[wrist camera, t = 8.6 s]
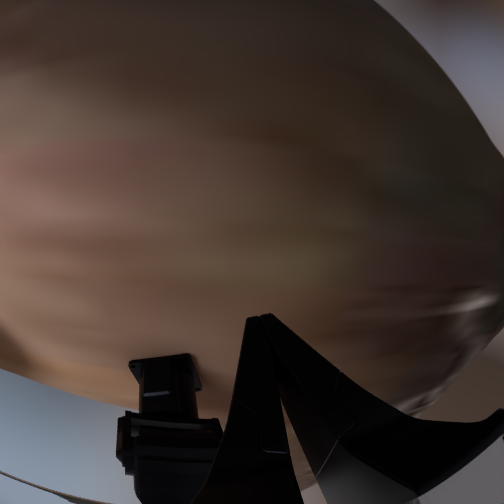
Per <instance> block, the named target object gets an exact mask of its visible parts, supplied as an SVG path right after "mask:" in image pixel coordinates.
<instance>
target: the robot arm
mask: <svg viewBox="0 0 504 504" xmlns="http://www.w3.org/2000/svg"><path fill="white" fill-rule="evenodd" d="M186 358H187V359H186ZM128 366H129V368H130V370H131V372H132V373H133V375H134V377H135V378H136V380H137V381H138V383H139V413H133V412H131V411H125V416H123V417H120V418H118V426H117V427H118V428H117V445H116V457H117V459H118V460H119V461H120V462H121V463H122V466H123V467H125V475H132V476H134V490H135V493H136V495H137V497H138V499H139V500H140V502H141V503H142V504H304V502H303V499H302V496H301V493H300V489H299V486H298V483H297V480H296V477H295V473H294V469H293V465H292V460H291V456H290V450H289V444H288V439H287V433H286V428H285V422H284V417H283V411H282V406H281V401H282V403H283V406H284V408H285V410H286V413H287V415H288V417H289V419H290V422H291V424H292V426H293V429H294V431H295V433H296V435H297V438H298V440H299V442H300V445H301V447H302V449H303V451H304V453H305V456H306V458H307V460H308V462H309V465H310V467H311V469H312V471H313V473H314V476H315V478H316V480H317V482H318V484H319V487H320V489H321V491H322V493H323V495H324V497H325V499H326V501H327V504H504V435H503V436H501V435H502V434H504V409H503V408H499V409H498V410H496V411H495V412H494V413H493V414H492V415H491V416H489V417H488V418H487V419H485V420H482V421H479V422H472V423H462V422H445V421H431V420H422V419H417V418H414V417H411V416H409V415H406V414H404V413H403V412H401V411H399V410H397V409H396V408H394V407H392V406H391V405H389V404H387V403H386V402H384V401H382V400H381V399H379V398H377V397H376V396H374V395H372V394H371V393H369V392H368V391H366V390H365V389H363V388H362V387H360V386H359V385H358V384H356V383H355V382H354V381H352V380H351V379H350V378H348V377H347V376H346V375H345V374H344V373H342V372H341V373H340V370H339V369H337V368H336V367H335V366H334V365H332V364H331V363H330V362H329V361H328V360H326V359H325V358H324V357H323V356H322V355H320V354H319V353H318V352H317V351H315V350H314V349H313V348H312V347H311V346H310V345H308V344H307V343H306V342H305V341H304V340H302V339H301V338H300V337H299V336H298V335H296V334H295V333H294V332H293V331H292V330H291V329H289V328H288V327H287V326H286V325H285V324H283V323H282V322H281V321H280V320H279V319H278V318H276V317H275V316H274V315H273V314H271V313H268V314H263V315H260V316H253V317H248V318H247V319H246V323H245V329H244V334H243V340H242V345H241V351H240V357H239V362H238V368H237V373H236V379H235V384H234V390H233V395H232V400H231V405H230V410H229V415H228V419H227V423H226V427H225V430H224V433H223V430H222V428H221V425H220V422H219V420H218V418H212V419H199V417H198V410H197V402H196V393H195V392H198V391H201V390H202V385H201V383H200V380H199V377H198V374H197V372H196V369H195V366H194V363H193V361H192V358H191V356H190V355H189V354H180V355H173V356H166V357H158V358H150V359H141V360H132V361H129V365H128ZM280 399H281V401H280Z"/></svg>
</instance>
